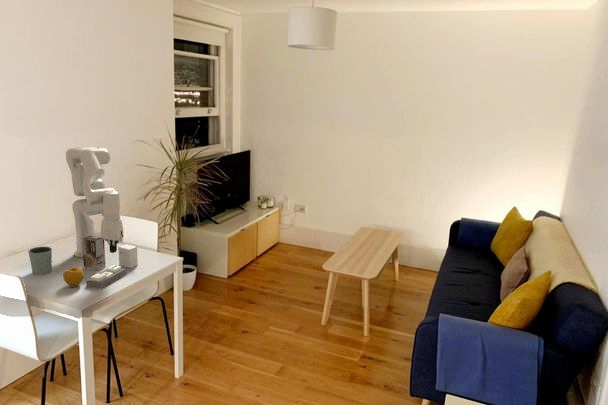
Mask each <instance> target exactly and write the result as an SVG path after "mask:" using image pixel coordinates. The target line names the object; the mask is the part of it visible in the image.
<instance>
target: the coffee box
mask: <svg viewBox="0 0 608 405" xmlns="http://www.w3.org/2000/svg"><path fill="white" fill-rule="evenodd" d="M82 249H83V257H82V259H83V261H82V262H83V268H84V269H88V270H93V271H99V270H101V269H103V268H105V267H106V249H105V240H103V238H101V236H96V235H95V236H88V237H85V238H83V239H82Z"/></svg>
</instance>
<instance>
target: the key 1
mask: <svg viewBox="0 0 608 405" xmlns="http://www.w3.org/2000/svg"><path fill="white" fill-rule="evenodd" d="M90 278H91V280H93V281H99V282H100V281H102V280H103V279H105V278H106V275H103V274H99V272H98V273H96V274H94V275H92V276H90Z"/></svg>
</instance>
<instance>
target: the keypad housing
mask: <svg viewBox="0 0 608 405" xmlns="http://www.w3.org/2000/svg"><path fill="white" fill-rule="evenodd" d="M126 271H127V270H126V268H123V267H121V270H119V271H118V272H116V273H115V272H112V273H114V274H112V275H111V276H109V277H106V278H105V279H103V280H102V281H100V282H99V281H93V280H91V277H90V278H88V279H86V281H85V282H86V284H85V285H86V287H89V288H90V287H91V288H95V289H100V290H102V289H104V288H105V287H107V286H108V285H111V284H112V283H114V282H115V281H117V280H119V279H120V278H122V277H124V276H126V274H127V272H126ZM104 272H109V271H107V268H106V269H105V270H102V271H101V272H98V274H102V273H104Z"/></svg>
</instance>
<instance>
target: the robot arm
mask: <svg viewBox="0 0 608 405" xmlns="http://www.w3.org/2000/svg"><path fill="white" fill-rule="evenodd" d="M65 160H66V164H67V166H68V168H69V170H70V175H71V180H72V181H71V184H72V190H73V194H74V195H75V196H76V197H80V199H76V200H75V201H73V203H72V206H71V207H72V212H73V216H74V223H75V224H74V225H75V241H76V250H75V251H74V252H73V254H74V257H78V258H83V249H82V239H83V238H85V237H88V236H96V234H95V232H96V230H95V222H94V221H93V219H92V218H91V216H95V215H101V216H102V217H103V218H102V220H101V224H100V237H101V238H103V240H104V241H106V242H107V245H108V246H109V253H112V254H115V253H116V252H117V251H118V244H119V243H122V242H124V240H123V239H124V236H125V235H124V226H123V221H122V219H121V204H120V194H119V192H118V191H116V190H115V189H114V188H113V187H108V188H107V187H105V183H104V180H103V179H102V178H104V176H105V169H104V166H103V165H108V164H110V162H111V155H110V152H109V151H108V150H107V149H106V148H103V147H99V146H98V147H97V146H88V147H87V146H86V147H85V146H82V147H80V146H79V147H72V148H69V149H67V150H66V151H65ZM81 197H84V198H81Z"/></svg>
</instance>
